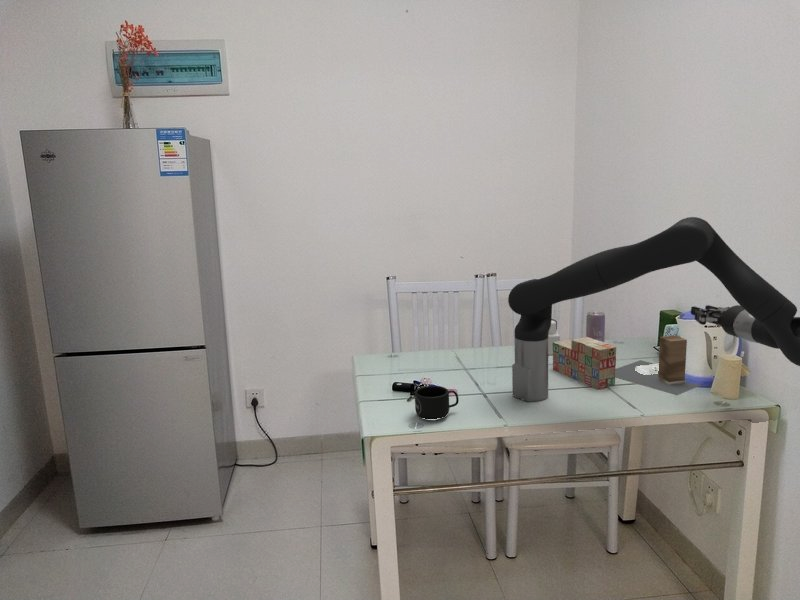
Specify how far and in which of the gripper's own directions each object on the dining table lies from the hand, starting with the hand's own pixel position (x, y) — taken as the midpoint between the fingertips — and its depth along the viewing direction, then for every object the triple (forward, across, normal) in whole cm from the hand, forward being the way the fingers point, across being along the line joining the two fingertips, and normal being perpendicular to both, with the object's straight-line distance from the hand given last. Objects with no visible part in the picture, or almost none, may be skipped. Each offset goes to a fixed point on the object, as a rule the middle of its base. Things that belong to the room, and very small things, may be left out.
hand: (699, 309), depth 144 cm
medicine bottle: (+49, +21, +24) cm, 58 cm away
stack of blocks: (+22, +22, +24) cm, 39 cm away
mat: (+15, +1, +24) cm, 28 cm away
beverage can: (+41, +8, +24) cm, 48 cm away
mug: (+5, +71, +24) cm, 75 cm away
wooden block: (+10, 0, +24) cm, 26 cm away
